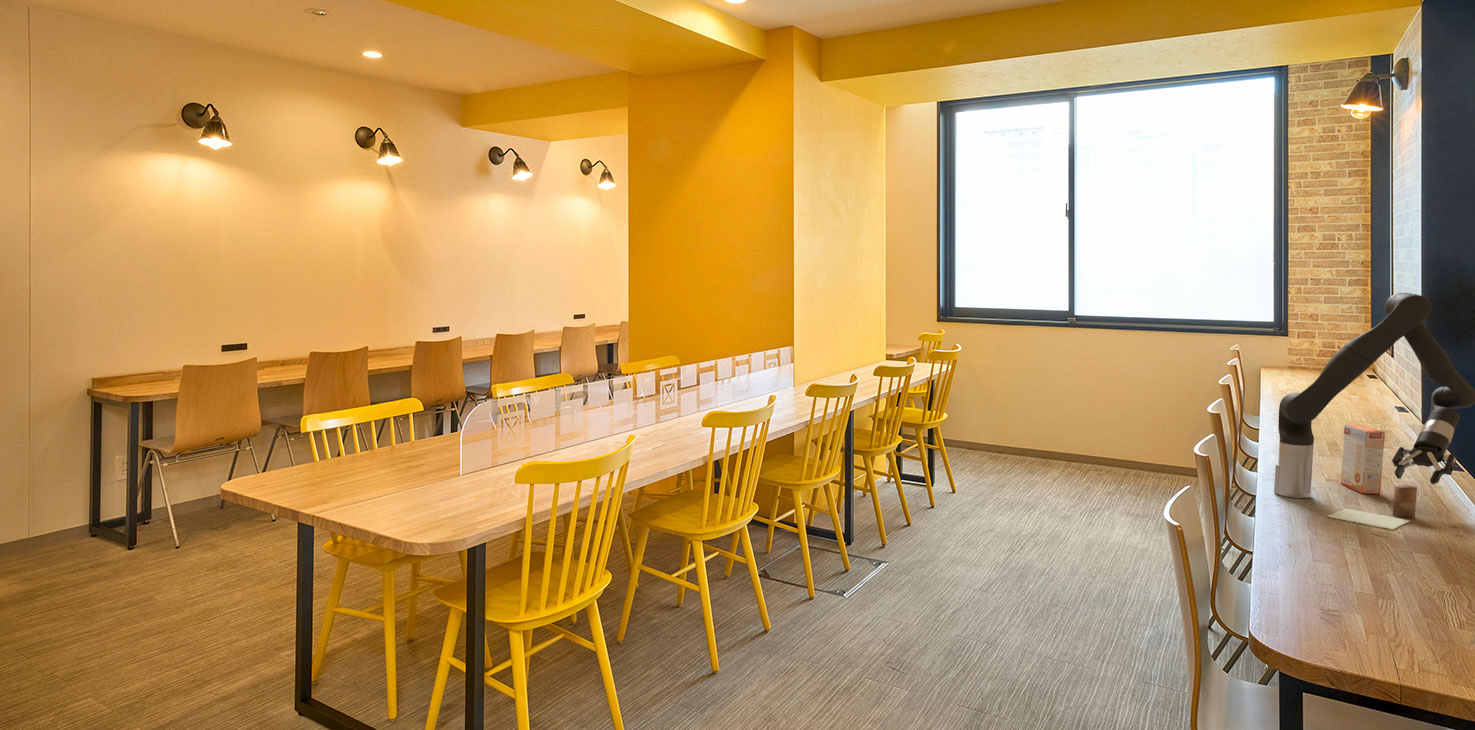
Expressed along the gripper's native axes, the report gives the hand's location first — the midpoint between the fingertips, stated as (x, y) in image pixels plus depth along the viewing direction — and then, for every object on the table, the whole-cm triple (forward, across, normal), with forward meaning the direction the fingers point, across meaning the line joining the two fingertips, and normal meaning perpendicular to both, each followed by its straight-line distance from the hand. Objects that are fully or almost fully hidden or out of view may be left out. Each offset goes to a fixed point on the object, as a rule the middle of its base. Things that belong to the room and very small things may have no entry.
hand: (1414, 479), depth 252 cm
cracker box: (-7, -22, +22) cm, 32 cm away
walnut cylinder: (+11, 0, +3) cm, 12 cm away
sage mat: (+20, -4, -6) cm, 21 cm away
